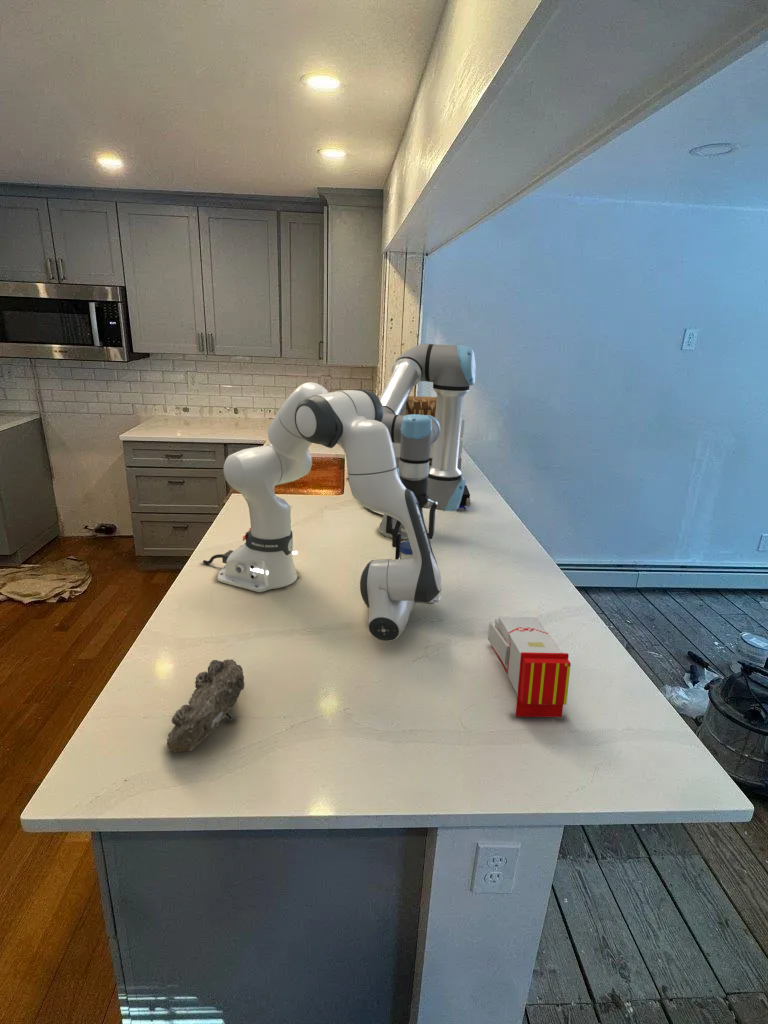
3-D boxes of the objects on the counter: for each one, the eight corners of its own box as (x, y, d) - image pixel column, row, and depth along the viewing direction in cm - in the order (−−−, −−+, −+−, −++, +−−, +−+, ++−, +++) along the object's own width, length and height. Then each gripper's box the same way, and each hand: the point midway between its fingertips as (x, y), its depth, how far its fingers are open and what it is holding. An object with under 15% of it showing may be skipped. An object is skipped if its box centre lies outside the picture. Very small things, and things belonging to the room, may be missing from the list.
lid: (400, 554, 149) (400, 548, 148) (397, 546, 153) (398, 541, 153) (420, 554, 149) (420, 548, 149) (416, 546, 154) (417, 541, 154)
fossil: (192, 660, 117) (244, 628, 112) (224, 691, 120) (276, 661, 115) (142, 746, 98) (202, 712, 93) (182, 779, 101) (242, 748, 96)
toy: (534, 602, 136) (579, 659, 107) (529, 653, 139) (572, 723, 110) (484, 601, 136) (516, 658, 107) (480, 652, 139) (510, 722, 109)
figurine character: (470, 515, 225) (465, 499, 238) (472, 498, 221) (467, 483, 235) (453, 515, 224) (449, 499, 238) (455, 497, 221) (451, 482, 234)
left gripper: (439, 592, 139) (446, 569, 152) (359, 581, 143) (372, 559, 156) (437, 615, 141) (444, 590, 154) (358, 603, 145) (371, 579, 158)
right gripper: (450, 476, 146) (443, 558, 154) (382, 469, 150) (378, 549, 158) (447, 484, 139) (439, 570, 147) (375, 476, 143) (371, 560, 151)
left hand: (407, 574), depth 155 cm, fingers closed on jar, 4 cm apart
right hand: (408, 559), depth 152 cm, fingers closed on lid, 5 cm apart
